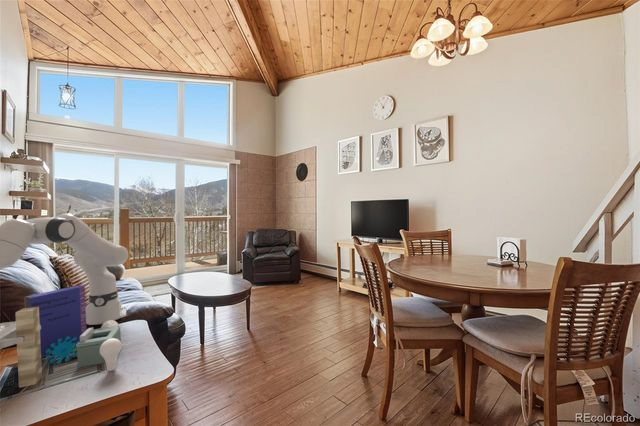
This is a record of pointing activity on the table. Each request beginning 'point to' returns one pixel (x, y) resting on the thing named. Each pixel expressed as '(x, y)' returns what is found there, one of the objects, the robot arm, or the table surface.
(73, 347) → the gear
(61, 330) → the cereal box
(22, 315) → the beige tall ridged block
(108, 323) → the penguin figurine
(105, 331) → the lid
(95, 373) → the table surface
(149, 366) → the table surface
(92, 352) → the green open box
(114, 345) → the lightbulb
